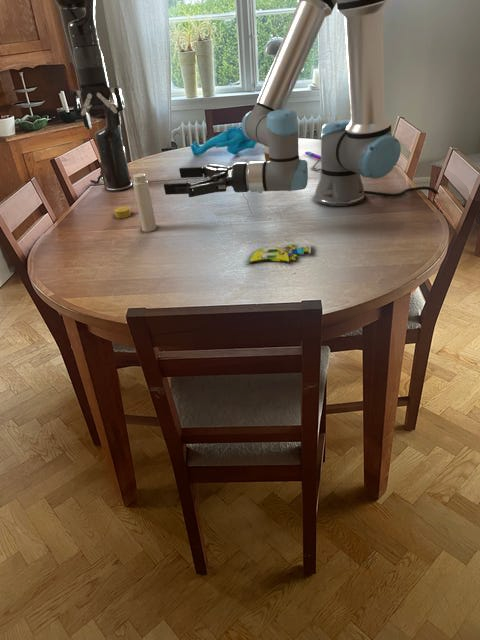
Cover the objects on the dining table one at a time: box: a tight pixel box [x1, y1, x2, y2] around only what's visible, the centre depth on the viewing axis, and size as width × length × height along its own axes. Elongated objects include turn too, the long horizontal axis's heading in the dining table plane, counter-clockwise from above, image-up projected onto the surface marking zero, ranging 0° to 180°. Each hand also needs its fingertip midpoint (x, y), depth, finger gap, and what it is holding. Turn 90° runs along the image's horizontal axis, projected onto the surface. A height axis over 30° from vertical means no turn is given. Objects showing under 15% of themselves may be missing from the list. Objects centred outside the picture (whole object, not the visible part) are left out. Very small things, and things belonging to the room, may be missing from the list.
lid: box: [113, 205, 132, 219], centre depth 153 cm, size 5×5×2 cm
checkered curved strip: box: [304, 151, 321, 171], centre depth 185 cm, size 24×2×20 cm
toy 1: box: [190, 126, 258, 157], centre depth 206 cm, size 17×11×30 cm
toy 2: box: [248, 244, 312, 265], centre depth 120 cm, size 10×1×15 cm
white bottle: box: [132, 172, 157, 233], centre depth 138 cm, size 4×4×16 cm
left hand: (104, 127), depth 139 cm, fingers open, 8 cm apart
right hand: (172, 180), depth 132 cm, fingers open, 13 cm apart
